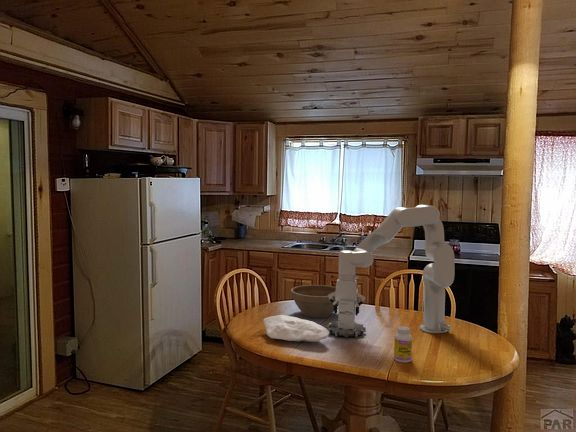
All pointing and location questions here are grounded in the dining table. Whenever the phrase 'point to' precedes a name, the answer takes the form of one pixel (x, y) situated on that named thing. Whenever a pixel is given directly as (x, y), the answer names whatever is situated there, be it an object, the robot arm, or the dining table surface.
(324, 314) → the flower pot
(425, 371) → the dining table surface
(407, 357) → the supplement bottle
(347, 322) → the supplement box
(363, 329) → the sprocket disc
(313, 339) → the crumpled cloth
